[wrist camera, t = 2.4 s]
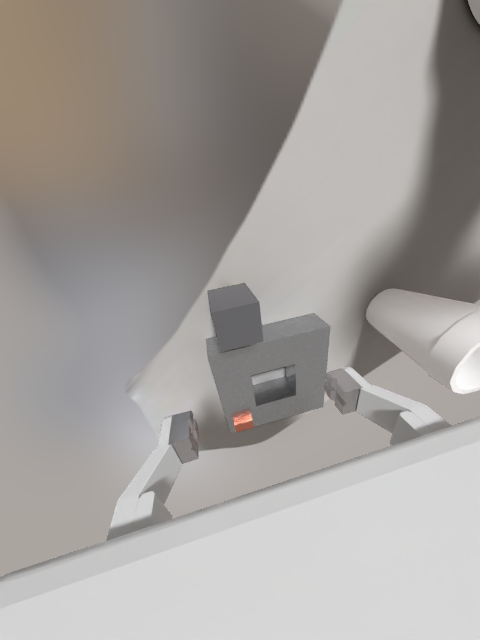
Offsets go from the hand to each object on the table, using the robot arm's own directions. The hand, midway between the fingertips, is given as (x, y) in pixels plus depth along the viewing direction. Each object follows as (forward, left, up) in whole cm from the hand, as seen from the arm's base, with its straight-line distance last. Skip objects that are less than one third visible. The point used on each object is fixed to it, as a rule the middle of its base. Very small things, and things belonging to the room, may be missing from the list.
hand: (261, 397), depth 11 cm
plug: (0, 0, -15) cm, 15 cm away
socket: (+13, +4, -15) cm, 20 cm away
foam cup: (+7, +24, -16) cm, 30 cm away
